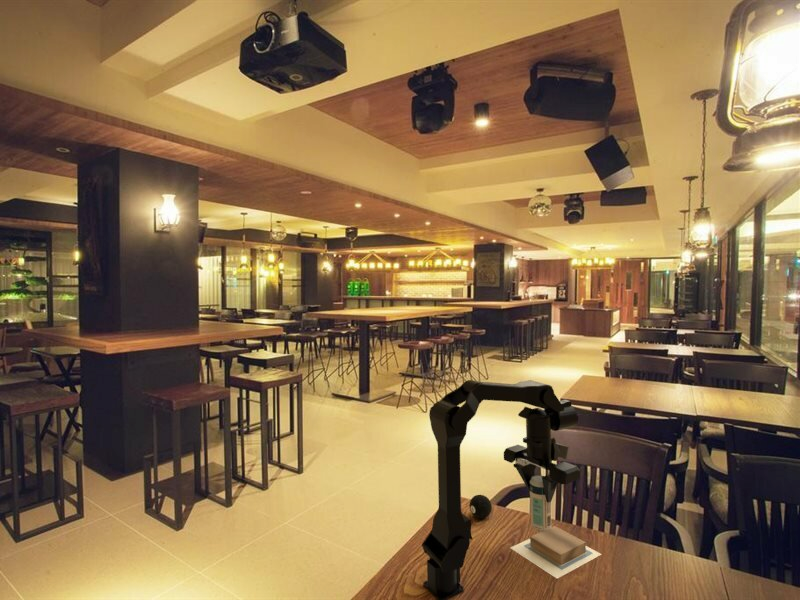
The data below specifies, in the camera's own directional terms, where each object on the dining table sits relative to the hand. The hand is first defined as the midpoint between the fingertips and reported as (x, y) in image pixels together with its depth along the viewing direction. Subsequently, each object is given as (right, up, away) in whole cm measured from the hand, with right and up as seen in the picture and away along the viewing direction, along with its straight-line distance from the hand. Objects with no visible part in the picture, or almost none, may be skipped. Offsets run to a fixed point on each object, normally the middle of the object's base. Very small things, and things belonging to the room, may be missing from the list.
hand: (540, 497), depth 107 cm
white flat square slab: (+4, -13, 0) cm, 14 cm away
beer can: (0, -8, 0) cm, 8 cm away
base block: (+4, -13, 0) cm, 13 cm away
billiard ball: (-11, -14, +18) cm, 25 cm away
